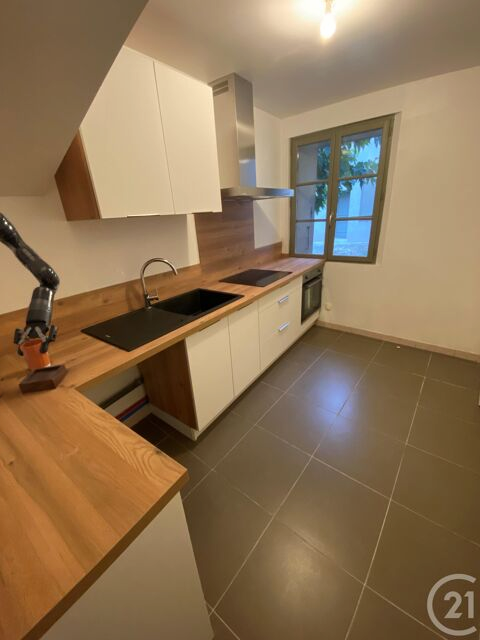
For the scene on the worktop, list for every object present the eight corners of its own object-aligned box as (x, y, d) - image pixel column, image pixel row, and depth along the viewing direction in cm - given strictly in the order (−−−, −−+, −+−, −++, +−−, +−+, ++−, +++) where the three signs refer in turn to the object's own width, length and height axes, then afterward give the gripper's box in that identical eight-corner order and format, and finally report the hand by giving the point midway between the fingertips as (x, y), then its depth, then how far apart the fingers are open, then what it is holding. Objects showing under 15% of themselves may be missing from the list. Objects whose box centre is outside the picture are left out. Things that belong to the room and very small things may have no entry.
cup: (25, 371, 94) (15, 349, 90) (34, 361, 100) (26, 340, 96) (45, 368, 95) (37, 346, 92) (53, 359, 101) (45, 338, 98)
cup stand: (22, 393, 94) (18, 384, 93) (37, 377, 104) (34, 368, 103) (55, 388, 96) (52, 379, 94) (67, 372, 106) (64, 364, 105)
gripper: (65, 315, 104) (59, 355, 98) (27, 318, 103) (18, 359, 97) (53, 306, 98) (46, 349, 91) (12, 310, 96) (2, 353, 90)
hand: (32, 354), depth 94 cm, fingers closed on cup, 6 cm apart
